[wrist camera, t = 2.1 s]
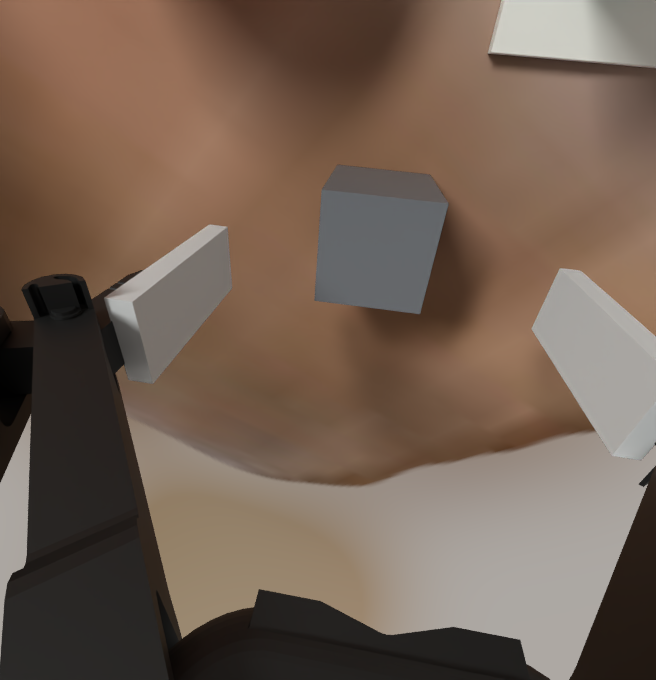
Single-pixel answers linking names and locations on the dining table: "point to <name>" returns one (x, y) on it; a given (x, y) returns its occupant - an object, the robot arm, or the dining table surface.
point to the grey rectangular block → (378, 238)
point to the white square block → (578, 31)
